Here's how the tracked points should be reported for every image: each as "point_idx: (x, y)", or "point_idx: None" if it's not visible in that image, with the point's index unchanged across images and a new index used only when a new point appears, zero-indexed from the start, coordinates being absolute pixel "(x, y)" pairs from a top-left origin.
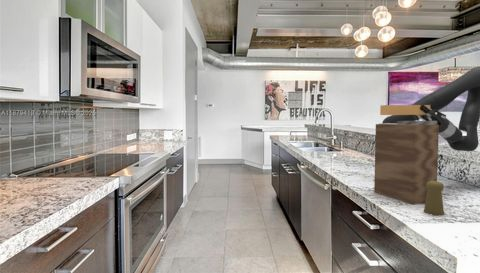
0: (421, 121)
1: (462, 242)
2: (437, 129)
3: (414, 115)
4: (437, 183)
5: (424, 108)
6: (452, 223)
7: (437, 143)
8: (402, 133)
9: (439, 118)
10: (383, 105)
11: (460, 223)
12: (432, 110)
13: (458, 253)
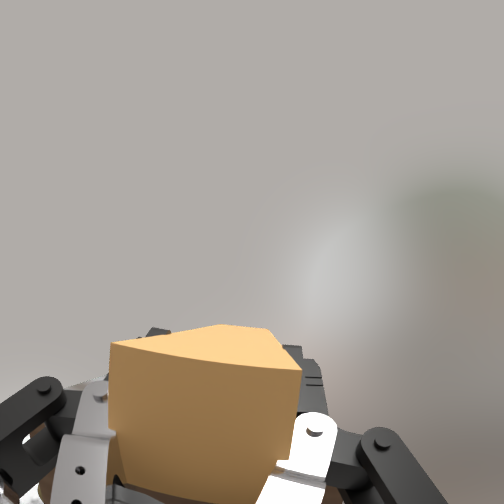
0: (91, 380)
1: None
2: (35, 433)
3: (344, 494)
4: None
5: None
6: (31, 497)
7: (43, 491)
8: None
9: (8, 481)
10: (250, 327)
11: (21, 499)
12: (68, 393)
13: (28, 438)
